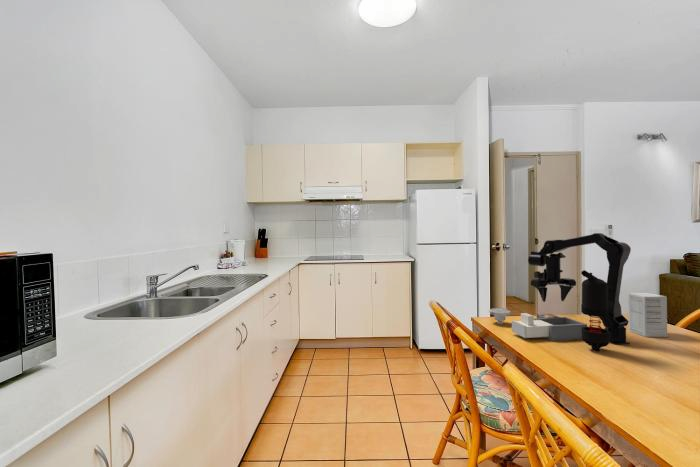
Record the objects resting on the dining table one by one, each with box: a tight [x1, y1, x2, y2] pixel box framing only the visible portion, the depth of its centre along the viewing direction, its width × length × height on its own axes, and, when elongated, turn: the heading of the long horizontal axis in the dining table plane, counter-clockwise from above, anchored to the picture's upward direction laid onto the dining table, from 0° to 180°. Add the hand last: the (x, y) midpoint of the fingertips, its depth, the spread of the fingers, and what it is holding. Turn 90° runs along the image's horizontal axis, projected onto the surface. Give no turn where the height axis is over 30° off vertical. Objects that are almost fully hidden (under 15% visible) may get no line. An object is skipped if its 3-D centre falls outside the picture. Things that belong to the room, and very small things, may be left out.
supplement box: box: [627, 292, 668, 338], centre depth 148 cm, size 10×9×17 cm
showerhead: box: [488, 307, 512, 325], centre depth 166 cm, size 9×7×10 cm
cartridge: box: [511, 312, 552, 339], centre depth 146 cm, size 9×13×8 cm
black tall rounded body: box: [580, 269, 614, 352], centre depth 129 cm, size 14×9×30 cm
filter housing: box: [534, 313, 588, 342], centre depth 150 cm, size 18×16×6 cm
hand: (553, 301), depth 159 cm, fingers open, 9 cm apart
